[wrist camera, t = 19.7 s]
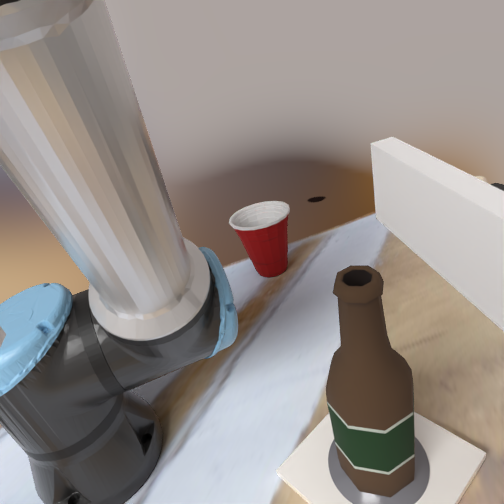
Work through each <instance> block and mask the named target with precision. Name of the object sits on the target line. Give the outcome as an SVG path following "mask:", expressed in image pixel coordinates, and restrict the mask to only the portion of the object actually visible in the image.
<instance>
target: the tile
mask: <svg viewBox="0 0 504 504" xmlns="http://www.w3.org/2000/svg"><path fill="white" fill-rule="evenodd" d="M414 428H415V474H414V481H412V482H411V483H410V484H408V485H407V486H406V487H404V488H403V489H401V490H400V491H399V492H397V493H396V494H395V495H393V496H392V497H385V496H380V495H375V494H370V493H365V492H360V491H359V490H358V489H357V487H356V486H355V485H354V484H353V482H352V481H351V480H350V478H349V477H348V476H347V474H346V473H345V472H344V470H343V469H342V468H341V465H340V462H339V459H338V455H337V450H336V444H335V439H334V434H333V429H332V424H331V419H330V414H329V413H328V415H327V416H326V417H325V418H324V419H323V420H322V421H321V422H320V423H319V424H318V425H317V426H316V428H315V429H314V430H313V431H312V432H311V433H310V434H309V435H308V436H307V437H306V438H305V440H304V441H303V442H302V443H301V444H300V445H299V446H298V447H297V448H296V449H295V450H294V451H293V453H292V454H291V455H290V456H289V457H288V458H287V459H286V460H285V461H284V462H283V463H282V465H281V466H280V467H279V468H278V469H277V470H276V472H277V475H278V476H279V477H280V478H281V479H282V480H283V481H284V482H285V483H286V484H287V485H289V486H290V487H291V488H292V489H293V490H294V491H295V492H296V493H297V494H298V495H300V496H301V497H302V498H303V499H304V500H305V501H306V502H307V503H308V504H458V503H459V501H460V500H461V498H462V496H463V495H464V493H465V491H466V490H467V488H468V487H469V485H470V483H471V482H472V480H473V478H474V477H475V475H476V473H477V472H478V470H479V468H480V467H481V465H482V464H483V462H484V460H485V459H486V452H484V451H482V450H480V449H479V448H477V447H475V446H473V445H472V444H470V443H468V442H466V441H465V440H463V439H461V438H459V437H458V436H456V435H454V434H453V433H451V432H449V431H447V430H446V429H444V428H442V427H440V426H439V425H437V424H435V423H433V422H432V421H430V420H428V419H426V418H425V417H423V416H421V415H419V414H418V413H416V412H414Z"/></svg>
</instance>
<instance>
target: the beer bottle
mask: <svg viewBox="0 0 504 504" xmlns="http://www.w3.org/2000/svg"><path fill="white" fill-rule="evenodd" d="M383 283H384V281H383V279H382V277H381V275H380V273H379V272H377V271H376V270H374V269H372V268H371V267H369V266H349V267H347V268H345V269H343V270H342V271H340V272H338V273H337V276H336V280H335V284H334V289H333V294H335V295H336V296H337V297H338V307H339V322H340V337H341V347H340V348H339V349H338V350H337V351H336V352H335V353H334V355H333V358H332V361H331V366H330V370H329V375H328V380H327V385H326V395H327V404H328V409H329V414H330V419H331V424H332V429H333V434H334V439H335V444H336V450H337V455H338V459H339V462H340V465H341V468H342V469H343V470H344V472H345V473H346V474H347V476H348V477H349V478H350V480H351V481H352V482H353V484H354V485H355V486H356V487H357V489H358V490H359V491H360V492H365V493H370V494H375V495H380V496H385V497H392V496H393V495H395V494H396V493H397V492H399V491H400V490H401V489H403V488H404V487H406V486H407V485H408V484H410V483H411V482H412V481H414V474H415V428H414V392H413V378H412V371H411V368H410V367H409V365H408V363H407V362H406V360H405V359H404V358H403V357H402V356H401V355H400V354H398V353H397V352H396V351H395V350H393V349H392V348H391V345H390V342H389V339H388V336H387V330H386V324H385V318H384V312H383V305H382V299H381V295H382V294H383Z"/></svg>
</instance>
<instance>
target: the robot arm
mask: <svg viewBox="0 0 504 504" xmlns="http://www.w3.org/2000/svg"><path fill="white" fill-rule="evenodd" d="M371 155H372V169H373V181H374V194H375V208H376V219H377V220H378V221H380V222H381V223H382V224H383V225H384V226H385V227H386V228H387V229H389V230H390V231H391V232H392V233H393V234H394V235H395V236H396V237H398V238H399V239H400V240H401V241H402V242H403V243H404V244H405V245H407V246H408V247H409V248H410V249H411V250H412V251H413V252H415V253H416V254H417V255H418V256H419V257H420V258H421V259H422V260H424V261H425V262H426V263H427V264H428V265H429V266H430V267H431V268H433V269H434V270H435V271H436V272H437V273H438V274H439V275H440V276H442V277H443V278H444V279H445V280H446V281H447V282H448V283H449V284H451V285H452V286H453V287H454V288H455V289H456V290H457V291H459V292H460V293H461V294H462V295H463V296H464V297H465V298H466V299H468V300H469V301H470V302H471V303H472V304H473V305H474V306H475V307H477V308H478V309H479V310H480V311H481V312H482V313H483V314H484V315H486V316H487V317H488V318H489V319H490V320H491V321H492V322H494V323H495V324H496V325H497V326H498V327H499V328H500V329H501V330H503V331H504V185H503V184H498V183H494V184H488V183H486V182H484V181H482V180H480V179H478V178H476V177H474V176H472V175H470V174H468V173H466V172H464V171H461V170H460V169H458V168H456V167H454V166H451V165H449V164H447V163H445V162H443V161H441V160H439V159H437V158H435V157H433V156H431V155H429V154H427V153H425V152H423V151H421V150H419V149H417V148H415V147H413V146H411V145H409V144H407V143H405V142H403V141H400V140H399V139H396V138H395V137H390V138H387V139H384V140H380V141H377V142H374V143H371ZM0 166H1V167H2V168H3V170H4V171H5V172H6V174H7V175H8V176H9V177H10V179H11V180H12V181H13V183H14V184H15V185H16V187H17V188H18V189H19V190H20V192H21V193H22V194H23V196H24V197H25V198H26V200H27V201H28V202H29V204H30V205H31V206H32V207H33V209H34V210H35V211H36V213H37V214H38V215H39V216H40V218H41V219H42V220H43V222H44V223H45V224H46V226H47V227H48V228H49V230H50V231H51V232H52V234H53V235H54V236H55V237H56V239H57V240H58V241H59V243H60V244H61V245H62V247H63V248H64V249H65V250H66V252H67V253H68V254H69V256H70V257H71V258H72V260H73V261H74V262H75V264H76V265H77V266H78V267H79V269H80V270H81V271H82V273H83V274H84V275H85V277H86V278H87V279H88V280H89V282H90V284H89V289H88V290H85V291H83V292H80V293H77V294H75V295H72V294H71V292H70V291H69V289H67V288H65V287H64V286H62V285H61V284H58V283H51V284H49V283H44V284H40V285H36V286H33V287H31V288H28V289H26V290H24V291H22V292H20V293H18V294H16V295H15V296H13V297H11V298H9V299H8V300H6V301H5V302H3V303H2V304H0V424H1V425H2V426H3V428H4V429H5V430H6V431H7V432H8V433H9V434H10V435H11V437H12V438H13V439H14V440H15V441H16V442H17V443H18V444H19V446H20V447H21V448H22V449H23V450H24V451H25V452H26V453H27V455H28V457H29V461H30V466H31V470H32V474H33V479H34V483H35V487H36V491H37V493H38V495H39V497H40V499H41V500H42V501H43V503H44V504H123V503H124V502H125V501H127V500H128V499H129V498H130V497H131V496H132V495H134V494H135V493H136V492H137V491H138V489H139V488H140V487H141V486H142V485H143V484H144V482H145V481H146V480H147V478H148V477H149V475H150V474H151V472H152V471H153V469H154V467H155V465H156V463H157V460H158V458H159V455H160V452H161V448H162V440H163V434H162V427H161V424H160V421H159V420H158V418H157V416H156V414H155V412H154V410H153V409H152V407H151V406H150V405H149V404H148V403H147V402H146V401H145V400H144V399H142V398H141V397H139V396H138V395H136V394H135V393H133V392H132V391H130V390H131V389H133V388H135V387H138V386H140V385H142V384H145V383H147V382H149V381H152V380H154V379H157V378H159V377H161V376H164V375H166V374H168V373H171V372H173V371H175V370H178V369H180V368H182V367H185V366H187V365H190V364H192V363H194V362H197V361H199V360H201V359H207V358H210V357H212V356H214V355H215V354H216V353H217V352H219V351H221V350H223V349H225V348H227V347H229V346H230V345H232V344H233V342H234V341H235V339H236V337H237V334H238V318H237V312H236V308H235V306H234V304H233V295H232V291H231V288H230V285H229V282H228V279H227V277H226V274H225V272H224V269H223V267H222V265H221V263H220V261H219V259H218V258H217V256H216V255H215V253H214V252H213V251H212V250H211V249H209V248H206V247H200V248H198V247H197V246H195V245H194V244H193V243H192V242H191V241H189V240H187V239H185V238H183V237H182V234H181V231H180V228H179V225H178V222H177V219H176V216H175V213H174V210H173V207H172V204H171V201H170V198H169V195H168V192H167V189H166V186H165V183H164V179H163V177H162V173H161V170H160V167H159V165H158V161H157V158H156V155H155V152H154V149H153V146H152V143H151V140H150V137H149V134H148V131H147V128H146V125H145V122H144V119H143V116H142V113H141V110H140V107H139V103H138V101H137V97H136V94H135V92H134V88H133V85H132V82H131V79H130V76H129V73H128V70H127V67H126V64H125V61H124V58H123V55H122V52H121V49H120V46H119V43H118V40H117V37H116V34H115V31H114V28H113V25H112V21H111V19H110V15H109V12H108V10H107V6H106V3H105V0H0Z"/></svg>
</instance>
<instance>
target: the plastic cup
mask: <svg viewBox="0 0 504 504" xmlns="http://www.w3.org/2000/svg"><path fill="white" fill-rule="evenodd" d="M289 211H290V209H289V205H288V204H286V203H284V202H279V201H267V202H261V203H256V204H253V205H250V206H247V207H245V208H242V209H241V210H239V211H237V212H236V213H235V214H233V215H232V216H231V217H230V221H229V224H230V225H231V226H232V227H233V228H234V229H235V231H236V232H237V234H238V236H239V237H240V239H241V241H242V243H243V245H244V247H245V249H246V251H247V253H248V255H249V257H250V259H251V260H252V262H253V265H254V267H255V269H256V271H257V272H258V273H259V274H260V275H261V276H263V277H274V276H277V275H280V274H282V273H283V272H284V271H285V270H286V268H287V264H288V261H287V252H288V243H287V226H288V225H287V220H288V213H289Z"/></svg>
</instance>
